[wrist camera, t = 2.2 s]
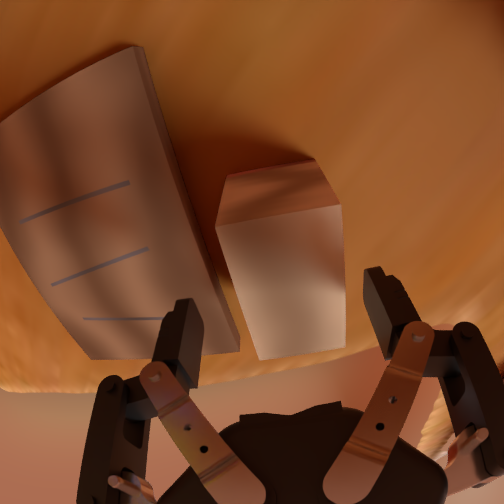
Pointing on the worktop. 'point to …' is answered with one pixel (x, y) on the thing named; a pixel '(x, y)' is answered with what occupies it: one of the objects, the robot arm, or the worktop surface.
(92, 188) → the board
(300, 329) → the block
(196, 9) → the worktop surface
